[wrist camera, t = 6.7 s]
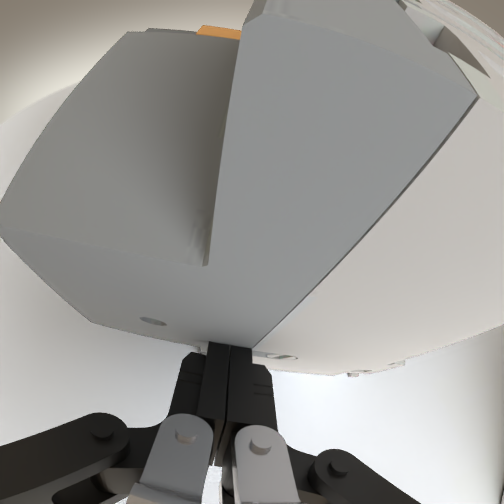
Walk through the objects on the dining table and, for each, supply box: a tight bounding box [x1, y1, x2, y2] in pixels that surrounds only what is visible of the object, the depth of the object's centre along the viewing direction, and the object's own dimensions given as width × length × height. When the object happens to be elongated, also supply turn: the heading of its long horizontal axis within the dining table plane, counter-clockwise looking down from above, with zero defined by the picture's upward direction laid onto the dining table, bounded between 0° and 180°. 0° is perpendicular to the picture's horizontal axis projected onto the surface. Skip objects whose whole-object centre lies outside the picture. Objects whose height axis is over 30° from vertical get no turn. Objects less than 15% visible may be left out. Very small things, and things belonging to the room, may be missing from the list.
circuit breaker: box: [0, 0, 504, 377], centre depth 10 cm, size 8×14×15 cm, turn 83°
